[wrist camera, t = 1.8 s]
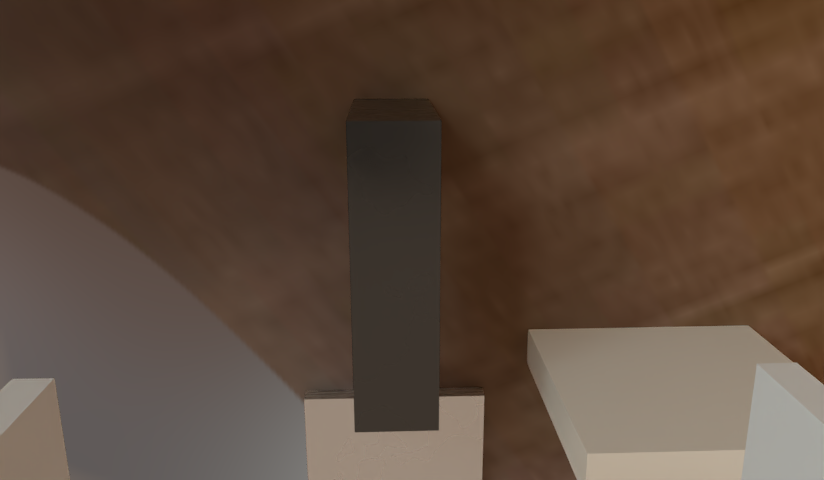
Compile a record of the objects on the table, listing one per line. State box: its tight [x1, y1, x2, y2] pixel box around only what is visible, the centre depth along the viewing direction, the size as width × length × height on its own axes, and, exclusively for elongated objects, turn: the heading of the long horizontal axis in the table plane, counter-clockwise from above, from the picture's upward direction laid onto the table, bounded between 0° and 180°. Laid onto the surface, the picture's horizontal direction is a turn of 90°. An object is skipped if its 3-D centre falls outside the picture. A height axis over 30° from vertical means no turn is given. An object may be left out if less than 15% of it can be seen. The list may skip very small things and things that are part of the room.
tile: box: [527, 325, 793, 480], centre depth 29 cm, size 2×10×10 cm, turn 90°
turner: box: [304, 99, 484, 480], centre depth 29 cm, size 20×8×7 cm, turn 0°
